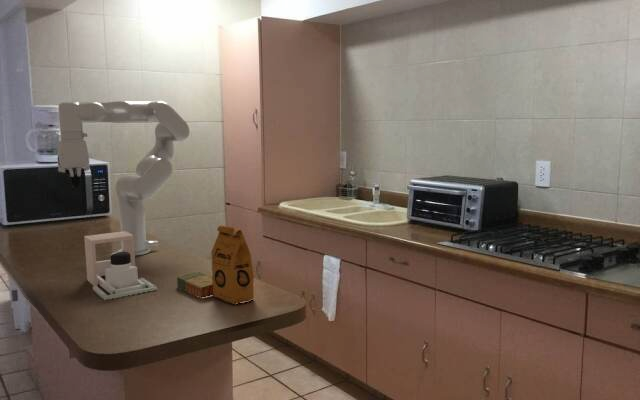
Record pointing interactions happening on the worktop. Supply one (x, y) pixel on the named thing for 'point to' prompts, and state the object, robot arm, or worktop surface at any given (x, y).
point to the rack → (101, 272)
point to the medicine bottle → (121, 271)
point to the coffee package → (232, 267)
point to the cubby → (104, 238)
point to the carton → (196, 284)
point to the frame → (147, 283)
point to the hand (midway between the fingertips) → (75, 187)
